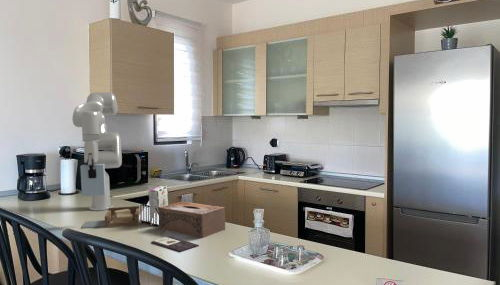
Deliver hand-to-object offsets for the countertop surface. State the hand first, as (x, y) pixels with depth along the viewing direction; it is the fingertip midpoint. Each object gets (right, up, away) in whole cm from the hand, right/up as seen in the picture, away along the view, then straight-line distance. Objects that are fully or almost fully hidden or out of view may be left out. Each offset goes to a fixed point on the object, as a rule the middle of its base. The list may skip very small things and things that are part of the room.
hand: (93, 177), depth 192 cm
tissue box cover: (+48, -23, -11) cm, 54 cm away
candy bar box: (+31, -22, +2) cm, 38 cm away
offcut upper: (+13, -18, +1) cm, 23 cm away
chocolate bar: (+44, -24, -32) cm, 59 cm away
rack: (+13, -22, +4) cm, 26 cm away
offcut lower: (+13, -22, +1) cm, 26 cm away
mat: (+1, -22, +1) cm, 22 cm away
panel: (0, -8, +1) cm, 8 cm away
